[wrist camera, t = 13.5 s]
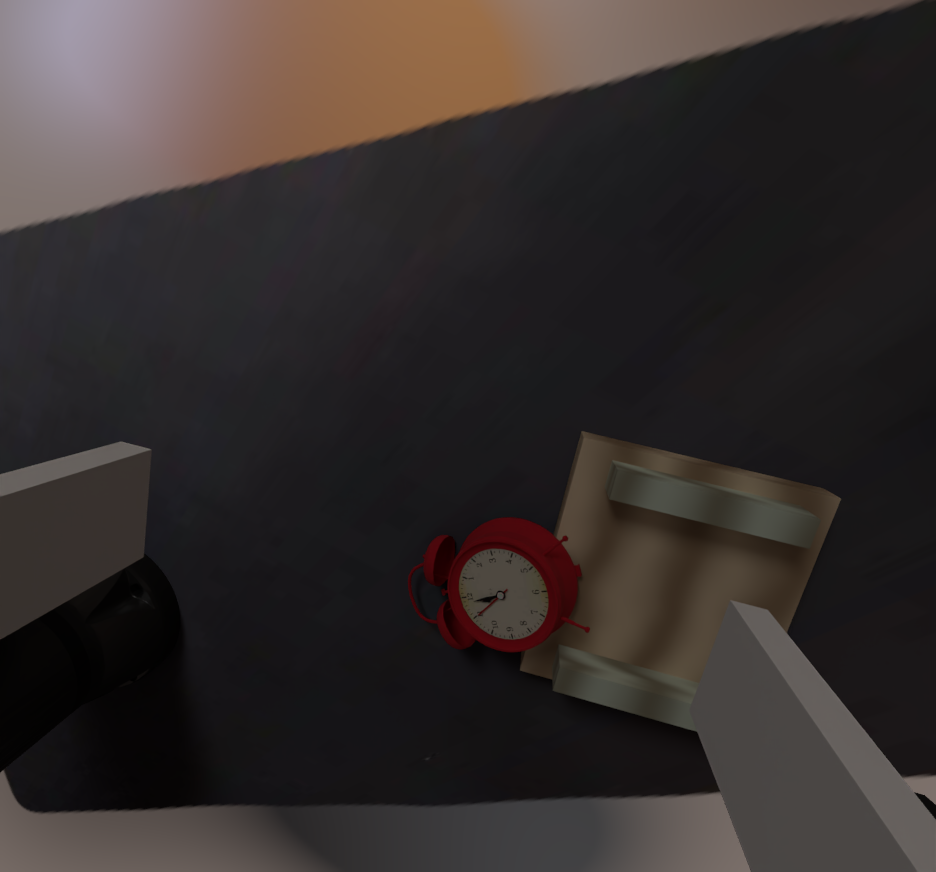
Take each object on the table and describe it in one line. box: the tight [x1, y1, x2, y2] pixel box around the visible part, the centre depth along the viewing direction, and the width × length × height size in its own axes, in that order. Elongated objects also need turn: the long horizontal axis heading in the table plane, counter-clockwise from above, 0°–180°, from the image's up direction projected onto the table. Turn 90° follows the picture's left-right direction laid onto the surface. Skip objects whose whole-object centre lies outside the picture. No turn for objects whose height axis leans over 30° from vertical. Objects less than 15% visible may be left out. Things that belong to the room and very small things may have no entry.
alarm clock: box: [408, 517, 590, 652], centre depth 42 cm, size 10×6×15 cm
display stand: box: [520, 431, 841, 732], centre depth 41 cm, size 19×21×6 cm
